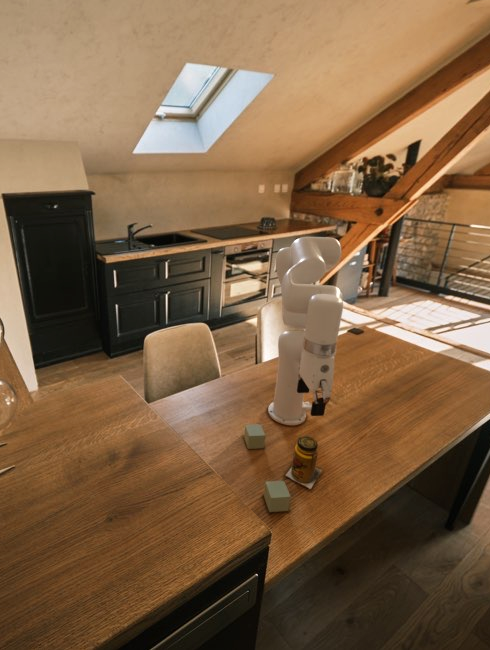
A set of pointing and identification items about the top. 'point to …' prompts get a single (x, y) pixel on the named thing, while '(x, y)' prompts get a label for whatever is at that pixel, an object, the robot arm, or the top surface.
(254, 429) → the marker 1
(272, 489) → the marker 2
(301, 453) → the condiment
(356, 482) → the top surface
